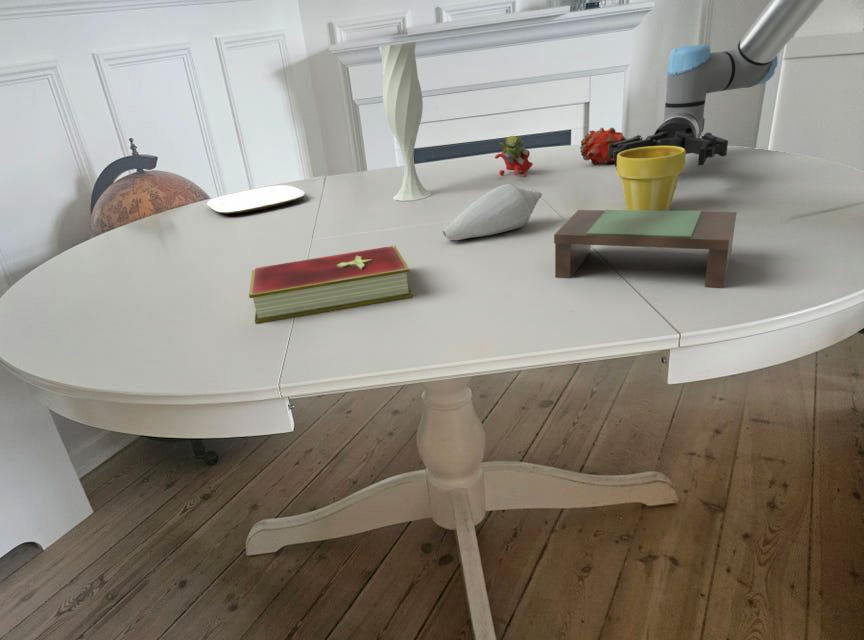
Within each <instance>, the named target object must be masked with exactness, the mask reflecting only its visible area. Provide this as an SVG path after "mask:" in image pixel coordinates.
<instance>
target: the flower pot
mask: <svg viewBox="0 0 864 640" xmlns="http://www.w3.org/2000/svg"><path fill="white" fill-rule="evenodd" d="M686 156H687V154H686V151H685V149H684V148H682V147H677V146H649V147H640V148H634V149H629V150H625V151H622V152H620V153H618V155H617V167H616V175H617V176H618V177H619V178H620V180H621V187H622V191H623V196H624V201H625V208H626V209H625V210H658V211H670V209H671V205H672V203H673V199H674V194H675V191H676V188H677V184H678V182H679V181H678V180H679V177H680V174H682V173H683V172H684V171H685V165H686Z"/></svg>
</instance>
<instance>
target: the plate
mask: <svg viewBox="0 0 864 640" xmlns="http://www.w3.org/2000/svg"><path fill="white" fill-rule="evenodd" d="M305 195H306V192H305V191H304V190H302V189H300V188H298V187H295V186H292V185H287V184H279V185H278V184H277V185H270V186H264V187H257V188H254V189H247V190H242V191H239V192H233V193H229V194H224V195H220V196H218V197H215V198H211V199H210V200H208V201H207V202H206V204H207V206H208V207H209V208H210V209H211V210H212V211H214V212H216V213H219V214H246V213H253V212H258V211H263V210H268V209H272V208H276V207H279V206H283V205H286V204H288V203H291V202H293V201H296V200H299V199H301V198H303V197H304V196H305Z"/></svg>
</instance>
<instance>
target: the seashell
mask: <svg viewBox="0 0 864 640" xmlns="http://www.w3.org/2000/svg"><path fill="white" fill-rule="evenodd" d="M542 196H543V193H542V192H541V191H537V190H530V189H525V188H521V187H519V186H516V185H514V184H511V183H505V184H502V185H498V186H497V187H495V188H493V189H491V190H490V191H488V192H486V193H484V194H483V195H481V196H480V197H478V198H477V199H476V200H475V201H473V202H471V203H470V204H469V205H468V206H467V207H466V208H465V209H463V211H461V212H460V213H459V214H458V215H457V216H456V217H454V219H453V220H452V221H451V222H450V223H449V224H447V226H446V227H445V228H444V229H443V230H441V233H442V234H443V236H444V237H445V239H447V240H452V241H461V240H465V239H471V238H481V237H488V236H493V235H498V234H500V233H501V234H502V233H504V232H505V233H506V232H509V231H512V230H515V229H518V228H521V227H522V226H524V225H526V224H527V223H528V222H529V220H530V219H531V215H532V214H533V211H534V209H535V208H536V206H537V204H538V202H539V200H540V199H541V198H542Z"/></svg>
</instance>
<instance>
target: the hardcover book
mask: <svg viewBox="0 0 864 640" xmlns="http://www.w3.org/2000/svg"><path fill="white" fill-rule="evenodd" d="M410 272H411V270H410V267H409V265H407V262H406V261H405V259H404V258H403V256H402V255H401V252H400V251H399V250H398V248H397V246H396V245H390V246H389V245H388V246H384V247H378V248H371V249H365V250H358V251H352V252H347V253H340V254H333V255H328V256H322V257H317V258H316V257H315V258H310V259H303V260H296V261H291V262H285V263H279V264H272V265H266V266H260V267H252V270H251V277H250V283H249V284H250V286H249V293H248V296H249V297H248V298H249V299H253V304H254V308H255V315H254V323H255V324H259V323H268V322H272V321H278V320H283V319H284V320H285V319H290V318H296V317H302V316H308V315H314V314H321V313H326V312H333V311H337V310H344V309H351V308H355V307H361V306H367V305H374V304H379V303H385V302H390V301H396V300H403V299H404V300H405V299H409V298H413V293H412V291H411V289H410V287H409V284H408V283H409V282H408V275H407V274H408V273H410Z"/></svg>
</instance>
